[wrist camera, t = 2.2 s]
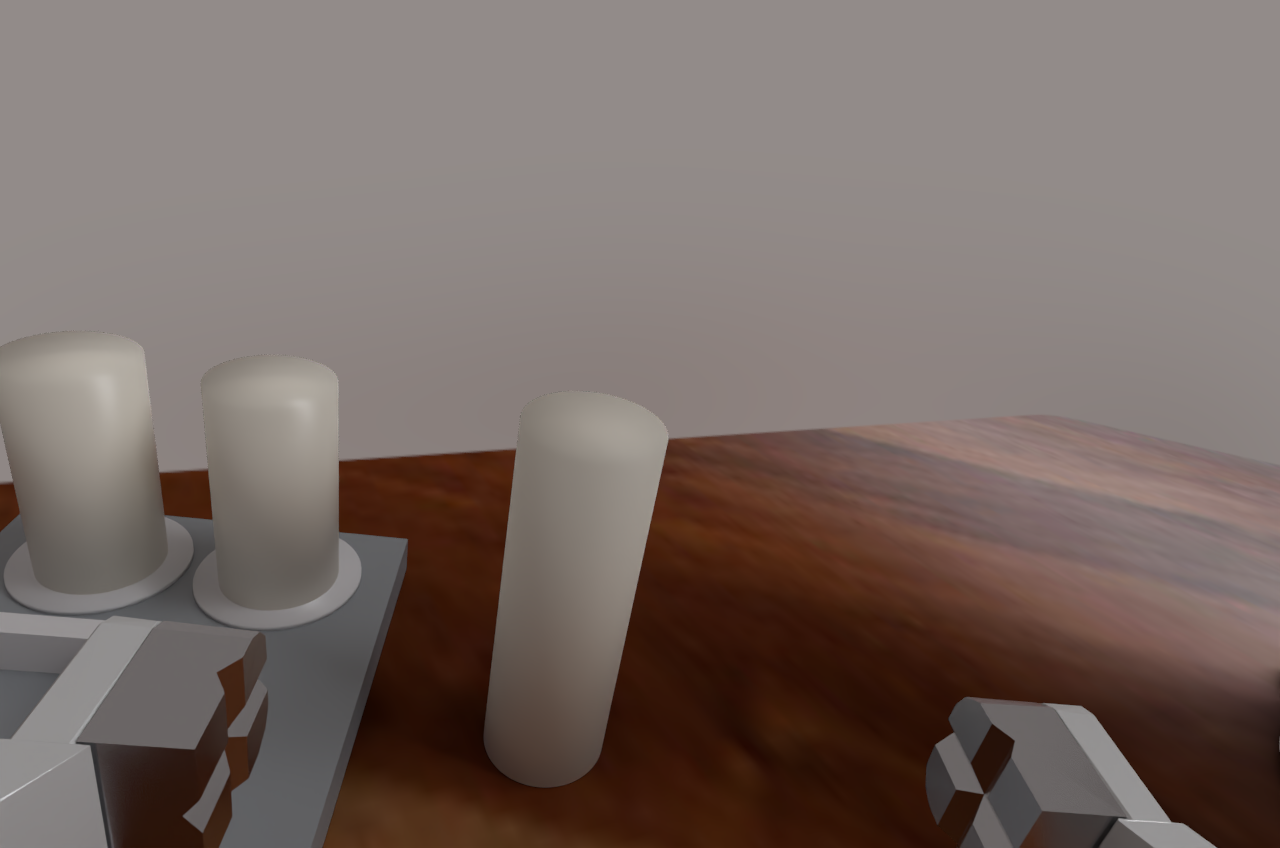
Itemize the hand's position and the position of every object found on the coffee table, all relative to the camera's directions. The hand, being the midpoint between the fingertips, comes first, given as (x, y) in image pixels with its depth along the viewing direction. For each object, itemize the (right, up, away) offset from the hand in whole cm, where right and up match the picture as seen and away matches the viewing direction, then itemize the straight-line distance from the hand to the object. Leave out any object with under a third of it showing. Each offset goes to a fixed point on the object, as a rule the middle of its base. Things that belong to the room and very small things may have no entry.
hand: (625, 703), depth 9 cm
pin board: (-16, -6, +16) cm, 23 cm away
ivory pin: (-3, -7, +18) cm, 19 cm away
